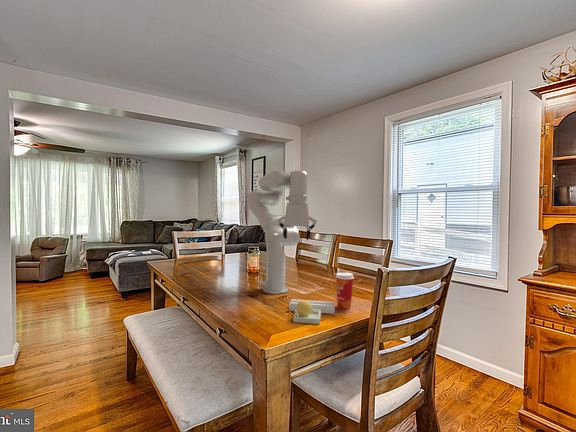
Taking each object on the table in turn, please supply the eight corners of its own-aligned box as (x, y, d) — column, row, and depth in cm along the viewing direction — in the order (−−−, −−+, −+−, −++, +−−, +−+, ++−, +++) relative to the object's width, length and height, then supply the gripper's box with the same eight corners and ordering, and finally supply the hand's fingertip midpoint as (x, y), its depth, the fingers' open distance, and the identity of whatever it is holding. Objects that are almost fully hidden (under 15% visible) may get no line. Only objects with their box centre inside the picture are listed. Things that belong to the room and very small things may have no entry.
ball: (299, 321, 110) (292, 307, 110) (301, 315, 116) (294, 301, 116) (314, 315, 109) (306, 300, 110) (315, 309, 115) (307, 295, 115)
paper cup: (332, 304, 130) (333, 272, 130) (350, 303, 131) (351, 272, 130) (337, 310, 122) (338, 276, 122) (355, 310, 123) (356, 276, 122)
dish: (293, 322, 109) (293, 317, 109) (296, 312, 118) (296, 308, 118) (319, 324, 107) (319, 319, 107) (320, 314, 117) (321, 310, 117)
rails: (289, 310, 121) (289, 303, 121) (291, 306, 126) (291, 299, 126) (334, 313, 118) (334, 306, 118) (334, 309, 123) (334, 302, 123)
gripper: (276, 199, 127) (275, 239, 128) (317, 200, 125) (315, 241, 126) (279, 199, 135) (278, 237, 136) (318, 200, 132) (316, 239, 133)
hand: (296, 238), depth 131 cm, fingers open, 9 cm apart
